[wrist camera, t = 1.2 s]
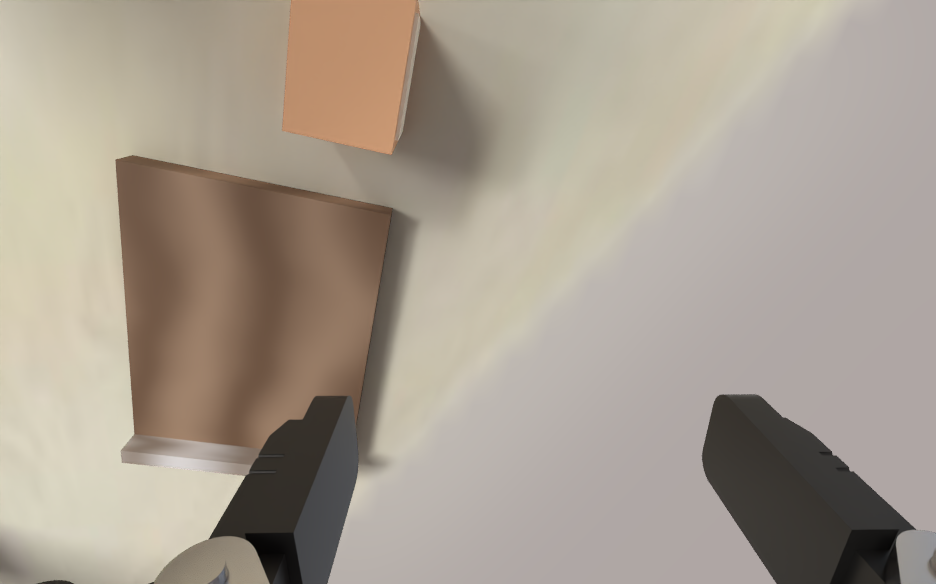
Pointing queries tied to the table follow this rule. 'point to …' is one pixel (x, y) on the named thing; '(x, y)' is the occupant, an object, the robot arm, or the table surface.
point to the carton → (350, 70)
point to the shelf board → (239, 308)
